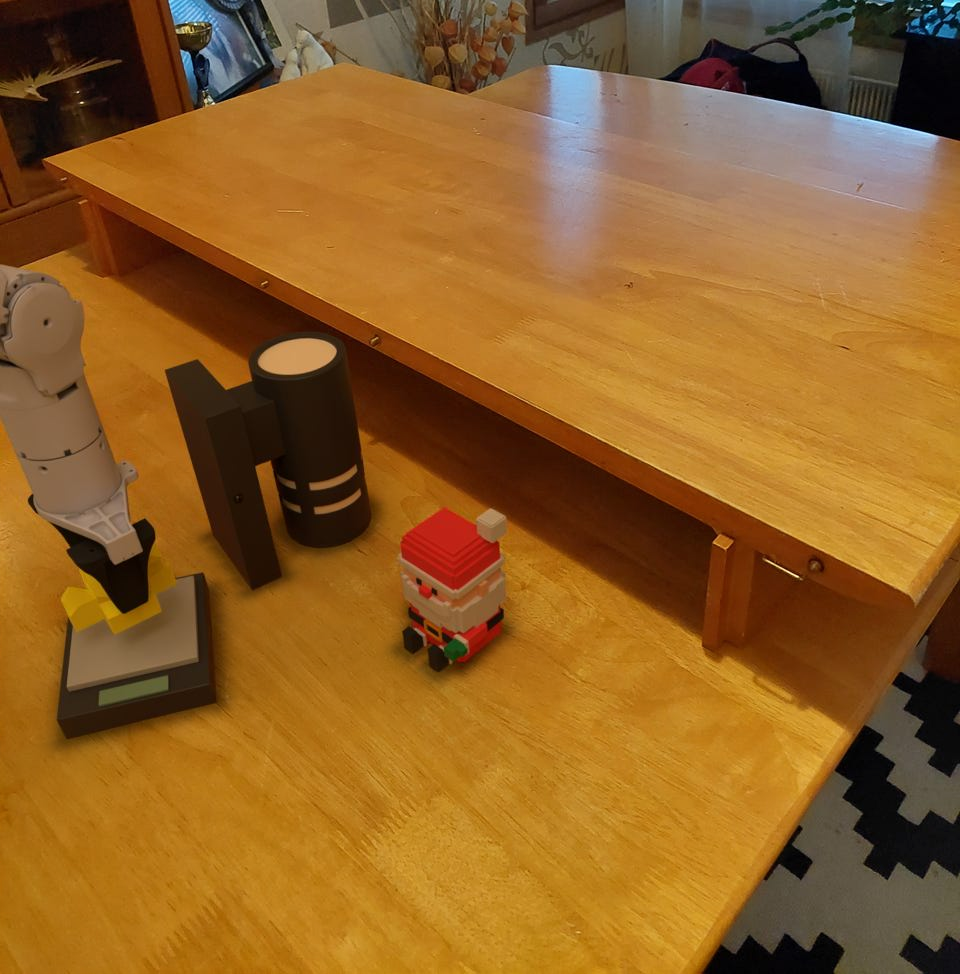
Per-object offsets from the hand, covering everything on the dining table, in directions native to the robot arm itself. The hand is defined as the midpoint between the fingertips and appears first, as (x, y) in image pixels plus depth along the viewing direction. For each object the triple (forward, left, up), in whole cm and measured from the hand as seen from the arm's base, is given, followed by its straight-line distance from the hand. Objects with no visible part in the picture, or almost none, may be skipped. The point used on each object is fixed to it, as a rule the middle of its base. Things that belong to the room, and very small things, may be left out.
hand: (116, 584), depth 71 cm
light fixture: (+18, +4, -8) cm, 20 cm away
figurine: (+20, -16, -8) cm, 26 cm away
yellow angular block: (0, 0, -2) cm, 2 cm away
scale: (0, 0, -8) cm, 8 cm away
